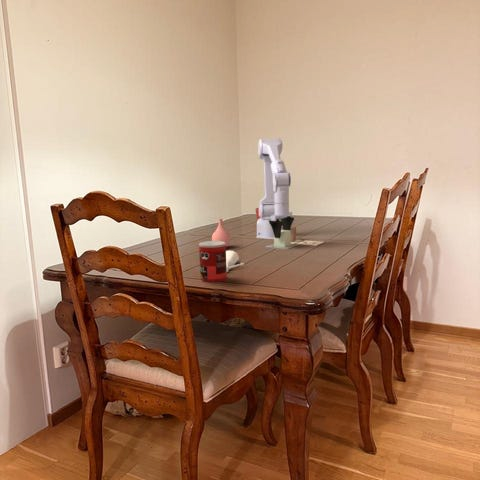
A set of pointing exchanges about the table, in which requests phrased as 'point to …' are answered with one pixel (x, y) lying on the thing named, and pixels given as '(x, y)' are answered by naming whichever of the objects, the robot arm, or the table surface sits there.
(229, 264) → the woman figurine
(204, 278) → the canned food
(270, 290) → the table surface
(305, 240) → the tile
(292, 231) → the walnut block
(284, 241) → the sage block
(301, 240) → the plain tile
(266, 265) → the table surface
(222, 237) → the perfume bottle
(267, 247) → the light grey square plate
